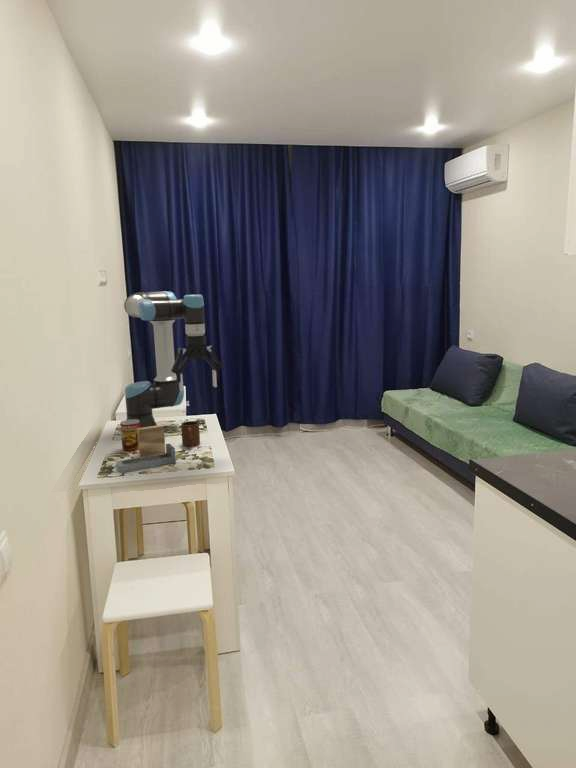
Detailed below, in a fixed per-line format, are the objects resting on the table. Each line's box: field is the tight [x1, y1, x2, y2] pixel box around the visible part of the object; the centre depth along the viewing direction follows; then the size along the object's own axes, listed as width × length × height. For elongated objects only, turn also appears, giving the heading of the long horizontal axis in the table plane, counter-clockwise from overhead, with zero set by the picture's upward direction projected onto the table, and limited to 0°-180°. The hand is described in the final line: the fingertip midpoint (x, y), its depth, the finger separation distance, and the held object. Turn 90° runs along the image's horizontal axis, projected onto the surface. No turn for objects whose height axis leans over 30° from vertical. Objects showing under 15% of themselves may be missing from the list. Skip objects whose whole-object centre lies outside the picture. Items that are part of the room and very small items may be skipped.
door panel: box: [137, 424, 166, 457], centre depth 229 cm, size 3×10×12 cm, turn 118°
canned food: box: [119, 419, 140, 453], centre depth 239 cm, size 8×8×12 cm
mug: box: [180, 420, 201, 447], centre depth 242 cm, size 12×8×9 cm, turn 7°
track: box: [115, 443, 177, 473], centre depth 219 cm, size 7×21×6 cm, turn 118°
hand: (198, 388), depth 225 cm, fingers open, 13 cm apart
